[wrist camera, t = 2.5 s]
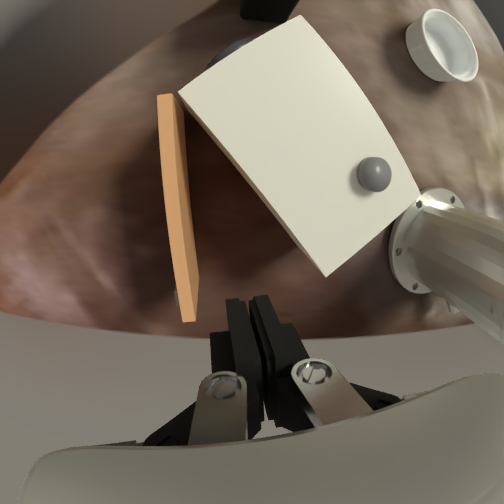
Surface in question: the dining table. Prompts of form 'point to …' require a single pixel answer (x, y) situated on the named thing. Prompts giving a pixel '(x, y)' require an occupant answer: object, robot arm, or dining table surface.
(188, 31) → the dining table surface
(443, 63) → the ramekin
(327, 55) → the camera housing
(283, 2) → the battery
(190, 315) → the side door
